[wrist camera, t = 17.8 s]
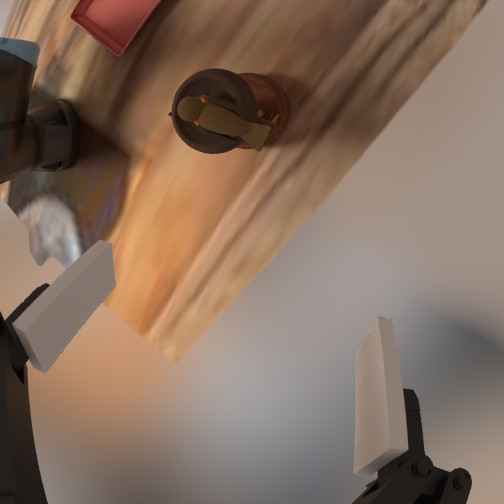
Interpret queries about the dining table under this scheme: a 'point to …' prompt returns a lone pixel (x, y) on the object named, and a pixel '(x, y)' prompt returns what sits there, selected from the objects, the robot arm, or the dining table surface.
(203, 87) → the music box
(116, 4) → the plant saucer
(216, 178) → the dining table surface
